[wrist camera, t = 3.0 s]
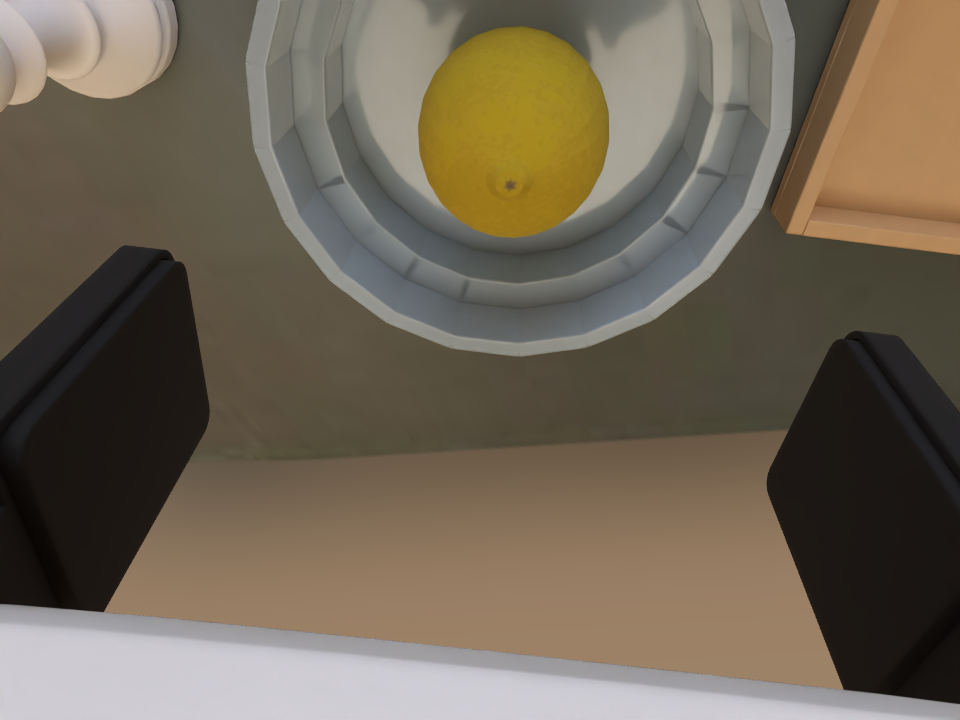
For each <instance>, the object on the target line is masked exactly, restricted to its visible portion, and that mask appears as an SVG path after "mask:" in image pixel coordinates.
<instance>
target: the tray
mask: <svg viewBox="0 0 960 720" xmlns="http://www.w3.org/2000/svg"><path fill="white" fill-rule="evenodd" d="M771 212H772V213H773V215H775V218H776V219H777V221H778V222H779V223H780V225H781V226H782V228H783V229H784V231H785V232H786V233H788V234H796V235H803V236H811V237H819V238H827V239H835V240H843V241H851V242H859V243H867V244H875V245H884V246H892V247H900V248H908V249H916V250H924V251H932V252H940V253H948V254H956V255H960V0H850V2H849V5H848V7H847V10H846V13H845V15H844V18H843V21H842V23H841V26H840V29H839V31H838V34H837V36H836V39H835V42H834V44H833V47H832V50H831V52H830V55H829V57H828V60H827V63H826V65H825V68H824V71H823V73H822V76H821V79H820V81H819V84H818V86H817V89H816V92H815V94H814V97H813V100H812V102H811V105H810V107H809V110H808V113H807V115H806V118H805V121H804V123H803V126H802V128H801V131H800V134H799V136H798V139H797V142H796V144H795V147H794V150H793V152H792V155H791V157H790V160H789V163H788V165H787V168H786V171H785V173H784V176H783V178H782V181H781V184H780V186H779V189H778V192H777V194H776V197H775V199H774V202H773V205H772V207H771Z"/></svg>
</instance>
